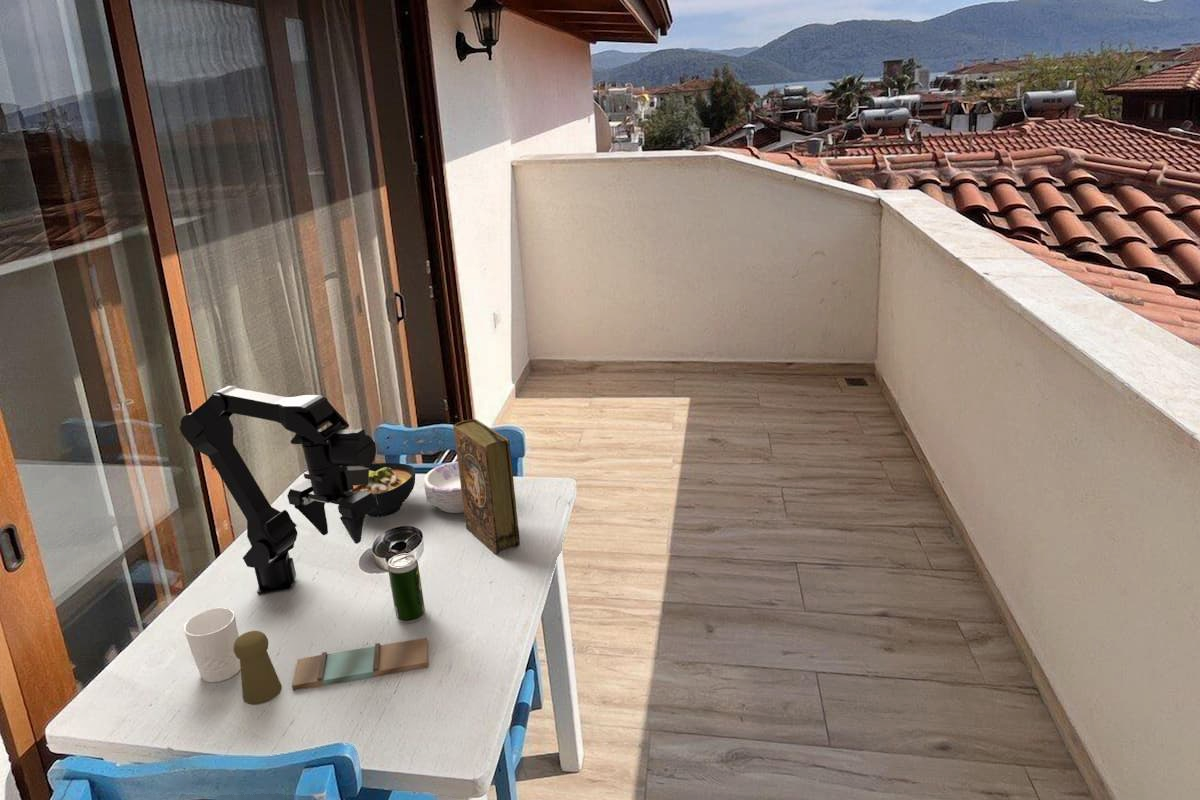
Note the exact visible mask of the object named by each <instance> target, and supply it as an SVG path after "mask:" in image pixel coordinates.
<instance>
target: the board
mask: <svg viewBox="0 0 1200 800" xmlns="http://www.w3.org/2000/svg"><path fill="white" fill-rule="evenodd" d="M428 642H429V640H428V637H422V638H421V637H420V638H416V639H410V640H404V641H398V642H392V643H385V644H381V643H380V642H378V643H374V646H369V647H361V648H356V649H351V650H343V651H339V652H332V653H328V652H327V651H324V652H321V654H320V655H315V656H314V655H313V656H308V657H302V658H297V661H296V665H295V670H294V675H293V680H292V684H291V687H292V691H298V690H303V689H309V688H311V689H312V688H315V687H321V686H327V685H331V684H339V683H343V682H350V681H356V680H362V679H368V678H371V677H372V678H373V677H379V676H383V675H391V674H395V673H402V672H409V671H412V670H413V671H414V670H420V669H424V668H425V669H426V668H428V667H429V651H428V650H429V648H428V646H429V644H428Z"/></svg>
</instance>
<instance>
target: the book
mask: <svg viewBox="0 0 1200 800" xmlns="http://www.w3.org/2000/svg"><path fill="white" fill-rule="evenodd" d="M452 426H453V434H454V441H455V451H456V458H457V462H458V467H459V475H460V483H461V491H462V499H463V507H464V512H463V513H464V520H465V521H464V522H465V529H466V530H467V531H468V532H469V533H470V532H471V533H472V534H471V535H473V537H475V538H476V539H477V540H479V542H480V543H482V545H484V546H485V547H486V548H487V549H488V550H490V551H491V552H492V553H493V554H495V555H498V554H499V553H500V552H502V551H503V550H506V549H508V548H509V549H510V548H513V547H519V546H521V545H520V544H521V543H520V542H521V539H520V530H519V529H520V528H519V521H518V511H517V500H516V493H515V483H514V473H513V471H514V470H513V465H512V464H513V463H512V462H513V461H512V453H511V445H510V444H511V443H510V440H509V438H506V437H504V436H503V435H502V434H500V433H498V432H497V431H495V430H494V429H492V428H491V427H489V426H488V425H486V424H484V423H482V422H481V421H479V420H478V419H473V418H472V419H466V420H462V421H458V422H456V423H454V424H453V425H452Z"/></svg>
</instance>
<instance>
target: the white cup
mask: <svg viewBox="0 0 1200 800" xmlns="http://www.w3.org/2000/svg"><path fill="white" fill-rule="evenodd" d="M238 629H239V628H238V625H237V620H236V614H235V611H234V610H232V609H230V608H227V607H213V608H210V609H206V610H204V611H201V612H198V613H196V614H195V615H193V616H192V617H191V618H189V619H188V620H187V621H186V623H185V624H184V626H183V631H184V634H185V637H186V639H187V644H188V646H189V649H190V652H191V655H192V657H193V660H194V663H195V665H196V667H197V669H198V673H199V675H200V678H202V680H203V681H204V682H208V683H220V682H223V681H226V680H228V679H231V678H232V677H233V676H235V675H236V674H238V673H239V672H240V671H241V668H240V659H238V658H237V657H236V655H235V653H234V643H235V641H236V639H237V638H238V637H239V636H240V635H239V630H238Z"/></svg>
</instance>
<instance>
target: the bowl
mask: <svg viewBox="0 0 1200 800" xmlns="http://www.w3.org/2000/svg"><path fill="white" fill-rule="evenodd" d="M364 468H369V481H368V485H364V484H363V485H353V487H354V489H353V490H351V491H347V492H346V494H345V495H351V494H353V493H355V492H356V491H358V490H360V491H365V492H370V493H373V494H375V495H376V498H377V502H378V506H377V507H375V508H373V509H372V510H371V511H369V512H368V513H367V514H366V516H367V517H369V518H386V517H389V516H393V515H395V514H396V513H398V512H399V511H400V510H401V508H402V506H403V504H404V503H405V501H406V500H407V499H408V498H409V497H410V495H411V493H412V492H413V490H414V488H415V484H416V469H415V467H414V466H412V465H410V464H407V463H399V462H398V463H397V462H378V463H377V462H376V463H372V464H371V465H370V466H368V467H364Z"/></svg>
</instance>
